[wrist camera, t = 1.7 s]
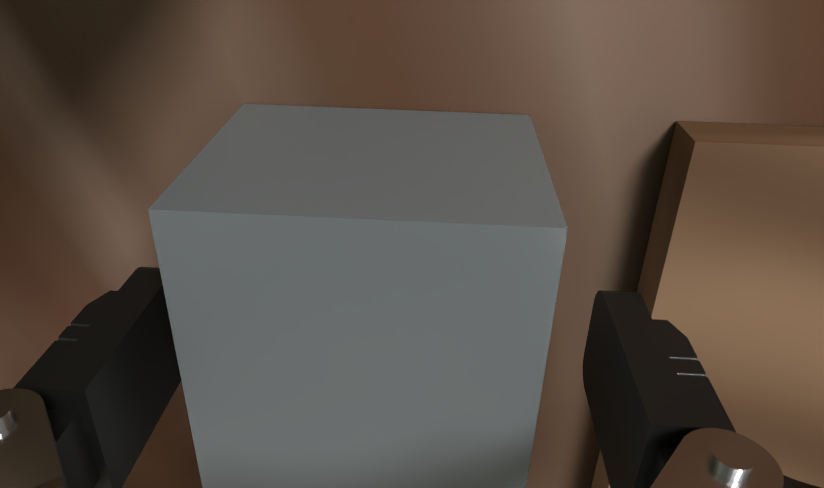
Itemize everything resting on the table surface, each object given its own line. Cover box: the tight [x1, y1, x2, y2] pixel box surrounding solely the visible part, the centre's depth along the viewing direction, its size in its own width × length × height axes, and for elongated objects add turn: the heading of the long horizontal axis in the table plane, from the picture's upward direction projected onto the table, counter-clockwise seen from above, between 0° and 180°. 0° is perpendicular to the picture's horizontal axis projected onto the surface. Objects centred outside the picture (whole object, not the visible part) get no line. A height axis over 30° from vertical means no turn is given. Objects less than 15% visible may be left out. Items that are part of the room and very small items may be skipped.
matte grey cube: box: [148, 104, 568, 488], centre depth 13 cm, size 6×6×5 cm
